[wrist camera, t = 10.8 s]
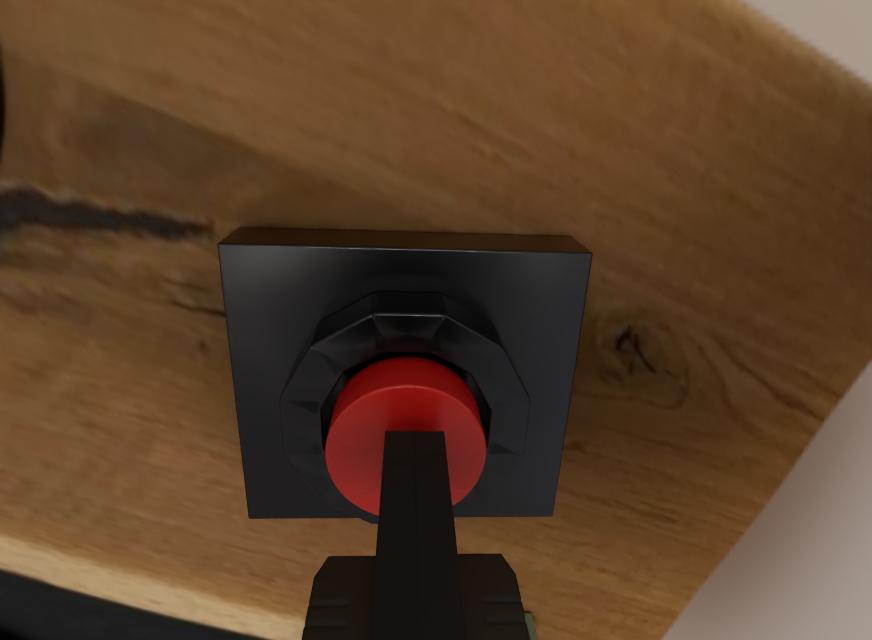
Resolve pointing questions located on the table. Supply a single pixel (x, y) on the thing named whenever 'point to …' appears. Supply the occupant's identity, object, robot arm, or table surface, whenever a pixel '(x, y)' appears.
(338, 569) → the robot arm
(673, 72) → the table surface
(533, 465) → the switch block
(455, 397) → the button
